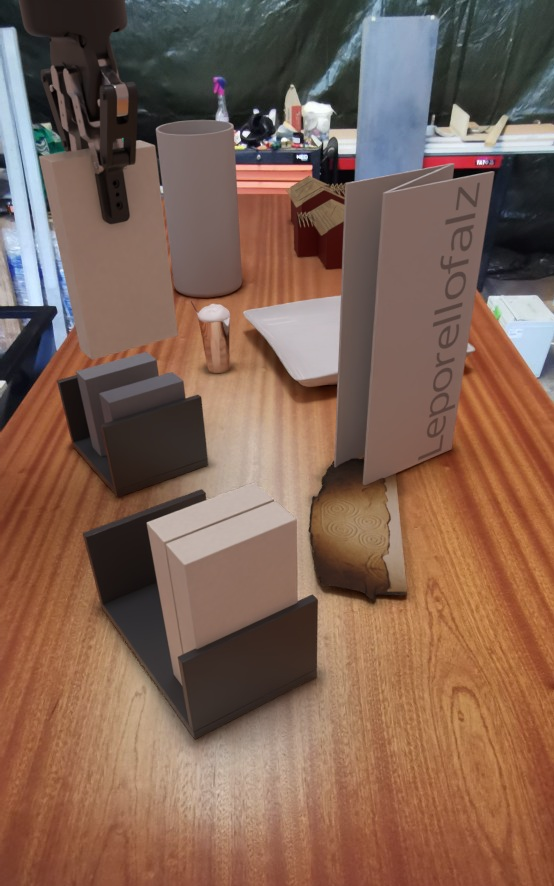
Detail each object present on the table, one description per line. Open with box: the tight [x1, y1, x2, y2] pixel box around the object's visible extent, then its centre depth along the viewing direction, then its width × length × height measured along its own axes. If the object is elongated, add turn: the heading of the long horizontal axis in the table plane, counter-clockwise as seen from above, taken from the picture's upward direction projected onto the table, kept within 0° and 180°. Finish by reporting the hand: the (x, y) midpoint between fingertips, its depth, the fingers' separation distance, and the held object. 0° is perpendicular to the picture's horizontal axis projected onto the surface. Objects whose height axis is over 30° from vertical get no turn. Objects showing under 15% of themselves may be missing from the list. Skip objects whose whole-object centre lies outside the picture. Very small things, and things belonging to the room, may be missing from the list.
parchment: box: [308, 458, 408, 601], centre depth 79 cm, size 25×10×1 cm, turn 176°
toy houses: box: [285, 175, 345, 270], centre depth 146 cm, size 45×20×10 cm, turn 9°
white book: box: [38, 139, 179, 361], centre depth 65 cm, size 9×3×16 cm, turn 124°
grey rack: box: [56, 351, 209, 498], centre depth 88 cm, size 12×14×11 cm
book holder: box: [82, 481, 319, 740], centre depth 62 cm, size 12×19×17 cm, turn 33°
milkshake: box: [190, 300, 231, 374], centre depth 106 cm, size 4×5×10 cm
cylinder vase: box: [155, 119, 243, 299], centre depth 127 cm, size 12×12×25 cm
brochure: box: [333, 163, 495, 485], centre depth 79 cm, size 14×6×30 cm, turn 126°
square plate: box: [242, 295, 476, 388], centre depth 112 cm, size 27×27×4 cm
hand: (108, 216), depth 63 cm, fingers closed on white book, 3 cm apart
